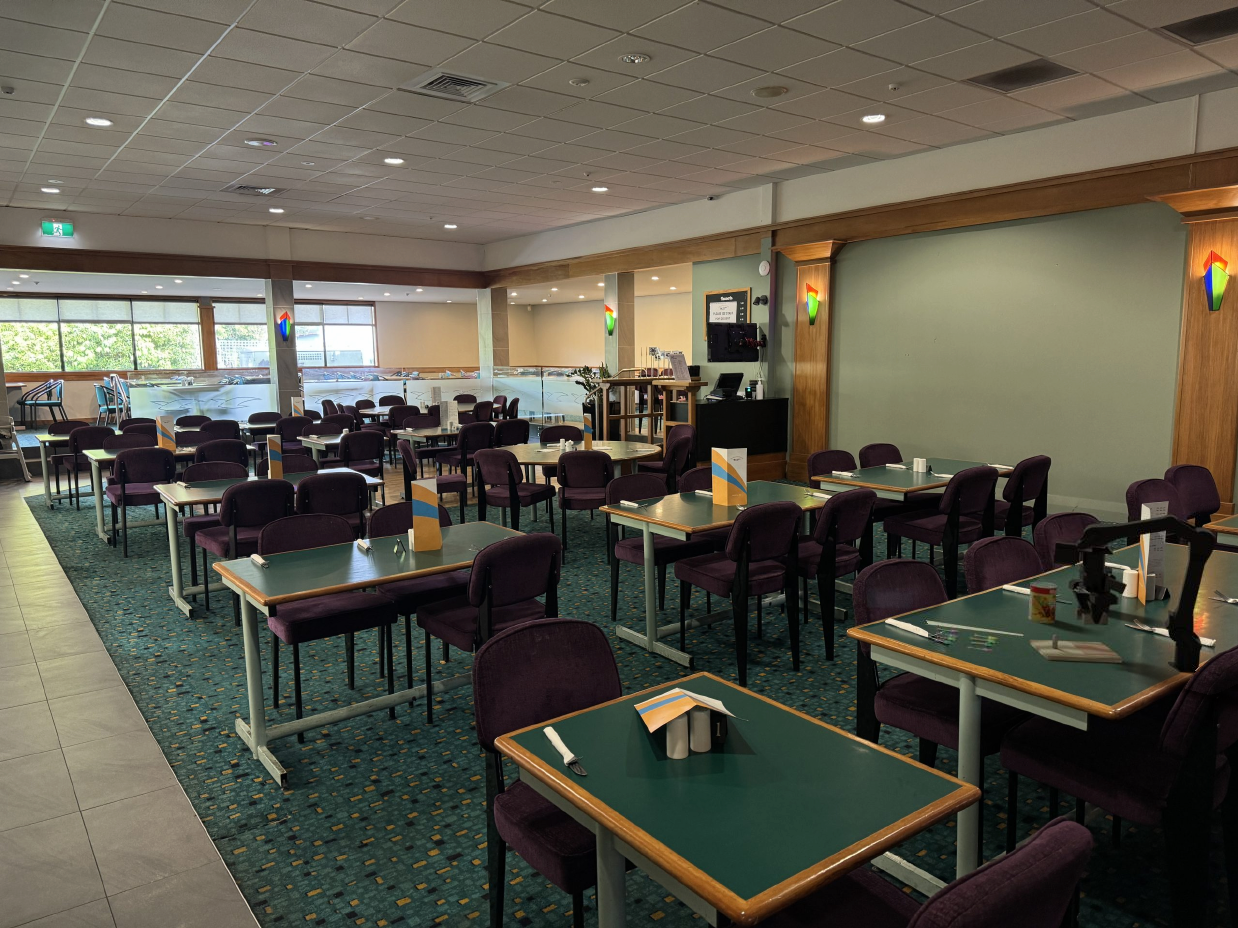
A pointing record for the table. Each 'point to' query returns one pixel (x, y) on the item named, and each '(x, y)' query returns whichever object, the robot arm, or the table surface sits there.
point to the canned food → (1042, 602)
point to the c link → (1089, 617)
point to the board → (1075, 650)
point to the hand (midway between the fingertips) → (1091, 620)
